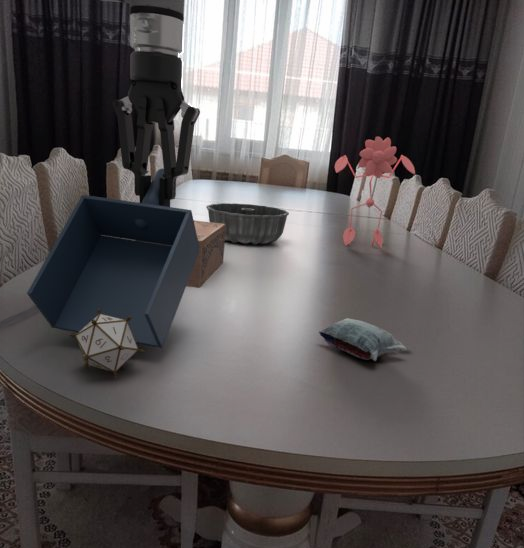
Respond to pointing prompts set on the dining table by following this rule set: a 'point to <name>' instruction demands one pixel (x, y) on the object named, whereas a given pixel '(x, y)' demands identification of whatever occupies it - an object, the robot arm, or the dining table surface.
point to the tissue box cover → (207, 251)
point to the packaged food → (361, 339)
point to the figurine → (376, 162)
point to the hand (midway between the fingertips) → (154, 218)
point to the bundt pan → (249, 222)
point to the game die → (107, 342)
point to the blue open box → (119, 265)
